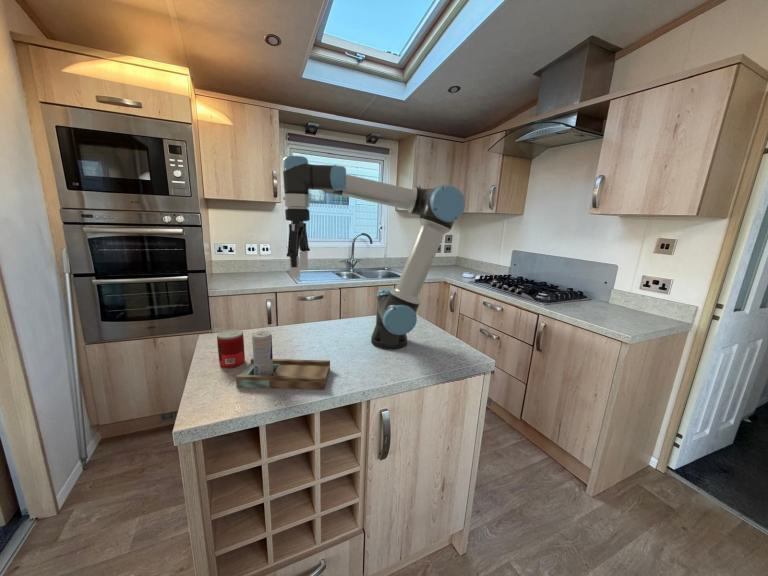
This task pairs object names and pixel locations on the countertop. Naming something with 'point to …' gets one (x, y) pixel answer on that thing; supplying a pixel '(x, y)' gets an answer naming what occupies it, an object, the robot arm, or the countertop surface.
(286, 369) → the rail board
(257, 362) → the beverage can
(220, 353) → the canned food
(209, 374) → the countertop surface
